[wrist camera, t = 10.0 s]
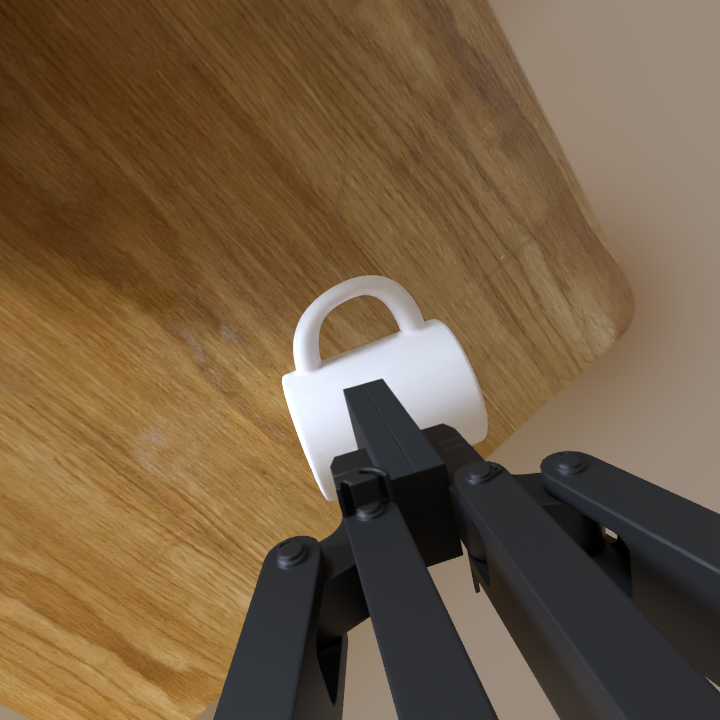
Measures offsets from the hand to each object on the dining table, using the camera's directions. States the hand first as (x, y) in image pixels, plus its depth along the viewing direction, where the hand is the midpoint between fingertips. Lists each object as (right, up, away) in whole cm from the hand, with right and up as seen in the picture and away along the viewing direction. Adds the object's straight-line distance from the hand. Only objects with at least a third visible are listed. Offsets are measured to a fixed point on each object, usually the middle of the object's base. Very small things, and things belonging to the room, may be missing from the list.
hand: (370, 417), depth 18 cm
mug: (0, +2, +15) cm, 15 cm away
